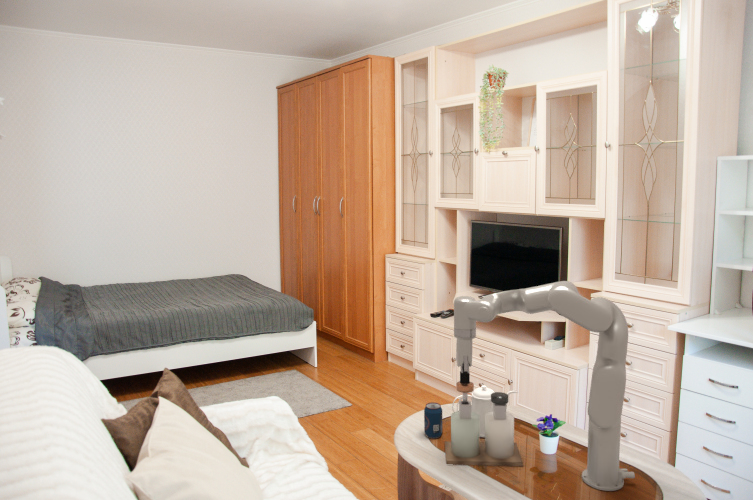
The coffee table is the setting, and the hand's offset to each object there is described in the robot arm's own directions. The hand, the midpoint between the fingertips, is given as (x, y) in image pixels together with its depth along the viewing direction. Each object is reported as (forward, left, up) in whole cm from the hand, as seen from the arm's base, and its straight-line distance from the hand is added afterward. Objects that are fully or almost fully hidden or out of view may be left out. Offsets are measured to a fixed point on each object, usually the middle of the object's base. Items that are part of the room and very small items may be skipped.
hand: (464, 382), depth 195 cm
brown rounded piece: (0, 0, -8) cm, 8 cm away
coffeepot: (-9, -18, -27) cm, 34 cm away
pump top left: (-12, 0, -12) cm, 17 cm away
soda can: (+11, -15, -27) cm, 33 cm away
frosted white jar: (-12, 0, -25) cm, 28 cm away
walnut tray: (-6, 0, -27) cm, 28 cm away
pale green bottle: (0, 0, -25) cm, 25 cm away
